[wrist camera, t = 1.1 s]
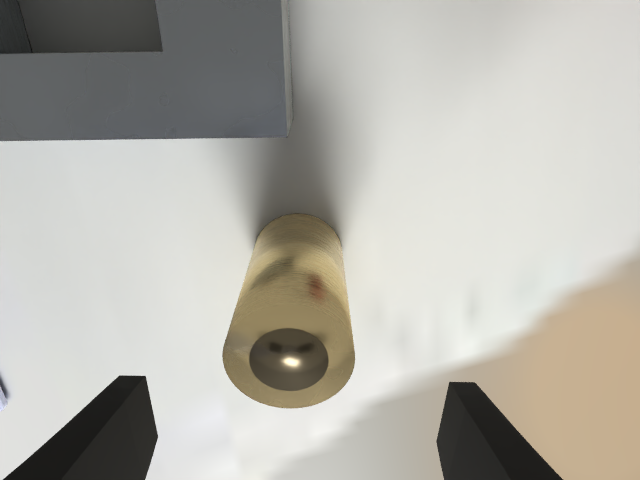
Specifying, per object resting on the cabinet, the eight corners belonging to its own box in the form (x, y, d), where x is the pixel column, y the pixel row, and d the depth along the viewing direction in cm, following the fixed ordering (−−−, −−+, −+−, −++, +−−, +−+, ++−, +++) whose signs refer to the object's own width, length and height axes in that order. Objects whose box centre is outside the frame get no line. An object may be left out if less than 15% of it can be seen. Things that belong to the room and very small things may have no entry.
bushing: (257, 292, 20) (229, 410, 13) (250, 214, 18) (214, 307, 12) (341, 290, 20) (353, 408, 13) (342, 212, 18) (356, 305, 12)
